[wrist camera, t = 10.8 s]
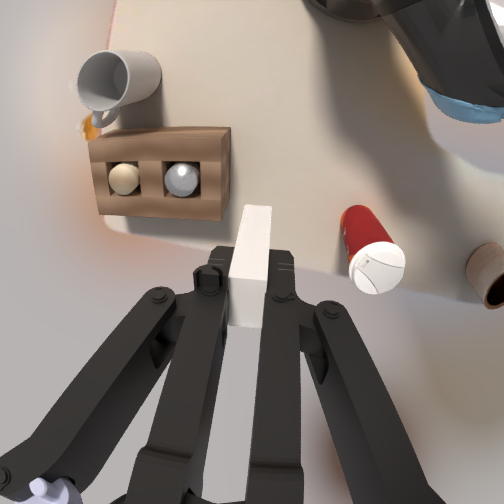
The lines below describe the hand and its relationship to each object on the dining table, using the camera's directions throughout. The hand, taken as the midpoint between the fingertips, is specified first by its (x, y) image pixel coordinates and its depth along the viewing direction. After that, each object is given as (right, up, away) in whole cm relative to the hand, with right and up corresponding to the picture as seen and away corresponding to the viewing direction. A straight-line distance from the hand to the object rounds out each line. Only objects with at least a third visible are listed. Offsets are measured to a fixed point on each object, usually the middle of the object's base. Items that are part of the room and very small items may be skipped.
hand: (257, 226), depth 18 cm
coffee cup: (+18, +4, +33) cm, 37 cm away
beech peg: (-18, +13, +29) cm, 37 cm away
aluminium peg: (-9, +12, +29) cm, 33 cm away
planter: (+50, -4, +35) cm, 61 cm away
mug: (-19, +25, +22) cm, 38 cm away
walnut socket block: (-14, +13, +29) cm, 35 cm away
